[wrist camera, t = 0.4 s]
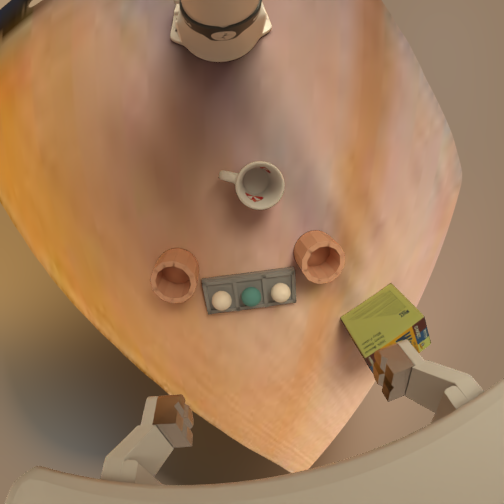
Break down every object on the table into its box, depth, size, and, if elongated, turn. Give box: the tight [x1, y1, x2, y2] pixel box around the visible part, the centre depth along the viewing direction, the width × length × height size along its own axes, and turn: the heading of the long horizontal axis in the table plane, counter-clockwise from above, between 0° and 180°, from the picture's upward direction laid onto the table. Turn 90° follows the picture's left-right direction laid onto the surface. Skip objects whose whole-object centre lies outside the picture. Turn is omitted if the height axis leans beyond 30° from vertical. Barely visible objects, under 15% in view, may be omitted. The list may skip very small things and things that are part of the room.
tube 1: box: [150, 248, 199, 303], centre depth 54 cm, size 9×9×7 cm
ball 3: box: [271, 283, 291, 303], centre depth 58 cm, size 4×4×4 cm
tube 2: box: [294, 230, 345, 284], centre depth 56 cm, size 9×9×7 cm
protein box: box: [341, 283, 431, 373], centre depth 60 cm, size 10×15×16 cm
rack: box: [202, 267, 296, 314], centre depth 60 cm, size 19×8×2 cm, turn 96°
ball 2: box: [241, 287, 261, 307], centre depth 58 cm, size 4×4×4 cm
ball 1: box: [212, 291, 232, 311], centre depth 58 cm, size 4×4×4 cm
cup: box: [219, 161, 285, 210], centre depth 49 cm, size 11×8×8 cm
